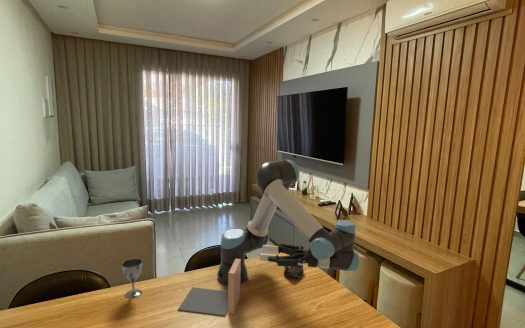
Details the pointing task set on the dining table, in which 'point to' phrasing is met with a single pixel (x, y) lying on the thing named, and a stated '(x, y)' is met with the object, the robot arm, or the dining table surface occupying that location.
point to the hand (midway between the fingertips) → (261, 252)
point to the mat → (206, 301)
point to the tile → (234, 286)
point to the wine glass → (132, 275)
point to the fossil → (293, 271)
